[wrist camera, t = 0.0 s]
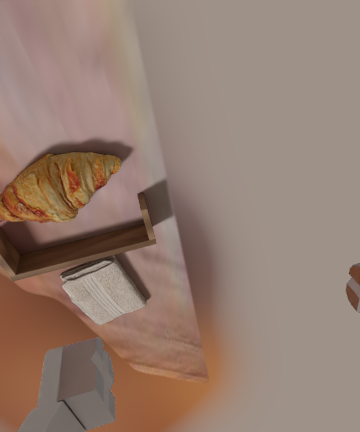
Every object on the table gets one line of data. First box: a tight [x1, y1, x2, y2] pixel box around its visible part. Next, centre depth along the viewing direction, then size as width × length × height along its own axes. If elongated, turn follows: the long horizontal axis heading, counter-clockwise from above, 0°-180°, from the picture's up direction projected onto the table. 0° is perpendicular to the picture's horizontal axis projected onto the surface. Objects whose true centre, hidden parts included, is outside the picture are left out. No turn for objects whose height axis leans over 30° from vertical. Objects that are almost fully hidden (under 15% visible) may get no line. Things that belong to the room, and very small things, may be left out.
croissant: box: [0, 152, 122, 223], centre depth 47 cm, size 21×10×8 cm, turn 110°
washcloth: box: [60, 255, 147, 325], centre depth 66 cm, size 12×18×3 cm, turn 19°
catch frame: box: [0, 193, 156, 281], centre depth 54 cm, size 8×24×4 cm, turn 98°
